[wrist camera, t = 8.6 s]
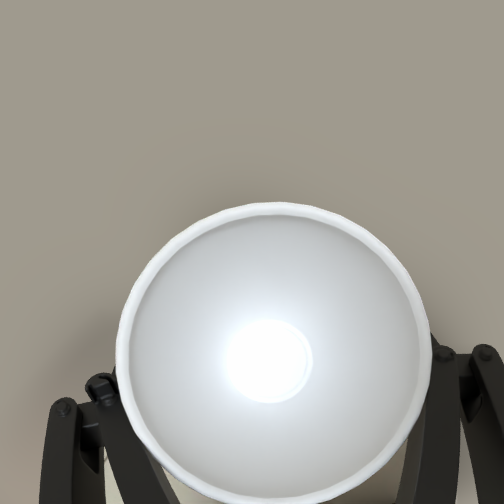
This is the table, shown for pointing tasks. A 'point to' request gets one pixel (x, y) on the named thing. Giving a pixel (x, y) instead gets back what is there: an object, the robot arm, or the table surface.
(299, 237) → the cup
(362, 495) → the table surface
